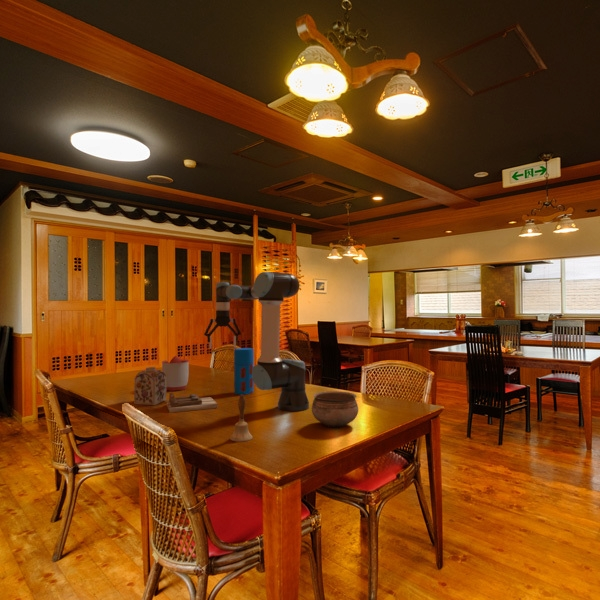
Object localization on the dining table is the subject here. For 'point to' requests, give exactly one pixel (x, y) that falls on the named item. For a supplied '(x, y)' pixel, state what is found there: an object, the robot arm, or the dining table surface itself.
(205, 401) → the keyhole board
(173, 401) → the walnut panel
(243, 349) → the thermos
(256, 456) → the dining table surface
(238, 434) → the hand bell
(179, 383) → the citrus juicer
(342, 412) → the cooking pot
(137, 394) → the decorative jar
